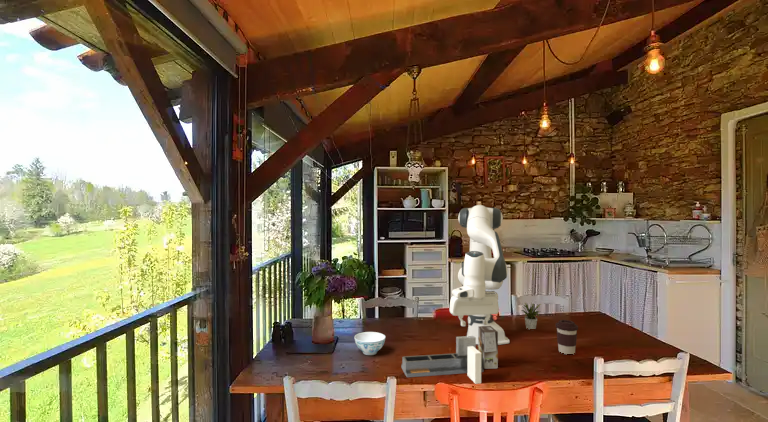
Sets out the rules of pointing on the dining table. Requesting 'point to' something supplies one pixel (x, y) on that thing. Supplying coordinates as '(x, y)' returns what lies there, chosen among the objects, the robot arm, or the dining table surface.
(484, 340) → the coffee box
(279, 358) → the dining table surface
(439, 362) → the panel rack
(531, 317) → the house plant
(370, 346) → the chinaware
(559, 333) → the coffee cup
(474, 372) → the panel
